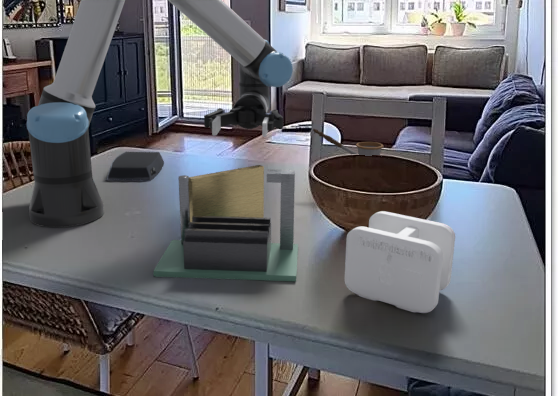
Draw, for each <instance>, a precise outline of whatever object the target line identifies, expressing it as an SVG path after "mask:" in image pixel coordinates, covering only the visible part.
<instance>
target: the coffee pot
mask: <svg viewBox="0 0 558 396" xmlns="http://www.w3.org/2000/svg"><path fill="white" fill-rule="evenodd" d="M312 133H313V134H312ZM315 134H317V135H318V136H319V137H322V138H323V139H324V140H325V141H326V142H329V143H330V144H333V145H334V146H336V147H338V148H339V149H342V150H344V151H345V152H347V153H348V154H350V155H352V154H359V155H365V156H372V155H381V152H382V149H383V148H384V144H383V143H381V142H377V141H375V142H374V141H361V142H357V143H356V144H355V147H356V148H357V152H358V153H357V152H356V151H354V150H352V149H350V148H349V147H347V146H344V145H343V144H342V143H341V142H339V141H338V140H336V139H335V138H333V137H332V136H330V135H328V134H325V133H324V132H323V131H319V129H315V128H313V129H312V130H311V132H310V134H309V136H311V137H313V136H314V135H315Z"/></svg>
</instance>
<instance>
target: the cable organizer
mask: <svg viewBox="0 0 558 396" xmlns="http://www.w3.org/2000/svg"><path fill="white" fill-rule="evenodd" d="M368 220H369V221H368V227H367V226H361V225H360V226H356V227H354V228H353V229H351V230H350V231H349V232H348V233H347V235H346V239H345V241H346V244H345V261H344V262H345V264H344V284H345V286H346V288H347V289H348V290H349V291H350V292H351V293H354V294H356V295H357V296H359V297H361V298H364V299H367V300H370V301H373V302H377V301H380V302H382V303H386V304H389V305H392V306H395V307H396V308H398V309H401V310H405V311H408V312H411V313H421V314H427V313H430V312H432V311H433V310H434V309H435V308H436V307H437V305H438V304H439V297H440V291H444V290H445V289H446V288H447V287H448V286H449V285H450V283H451V279H452V269H453V264H454V263H453V262H454V253H455V243H456V233H455V231H454V230H453V228H452V227H451V226H449V225H447V224H446V223H443V222H438V221H433V220H428V219H424V218H418V217H415V216H410V215H406V214H405V215H404V214H401V213H400V214H399V213H395V212H390V211H385V210H381V211H377V212H375V213H374V214H372V215H371V216H370V217H369V219H368Z"/></svg>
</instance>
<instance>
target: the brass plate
mask: <svg viewBox="0 0 558 396" xmlns="http://www.w3.org/2000/svg"><path fill="white" fill-rule="evenodd" d="M264 173H265V166H263V165H261V164H257V165H252V166H246V167H240V168H234V169H233V168H232V169H229V170H222V171H217V172H210V173H205V174H200V175H194V176H189V202H190V222H192V216H225V217H259V218H265V217H264V214H265V209H264V206H265V200H264V198H265V195H264V192H265V190H264V189H265V187H264V186H265V184H264V183H265V180H264V179H265V175H264Z"/></svg>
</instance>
